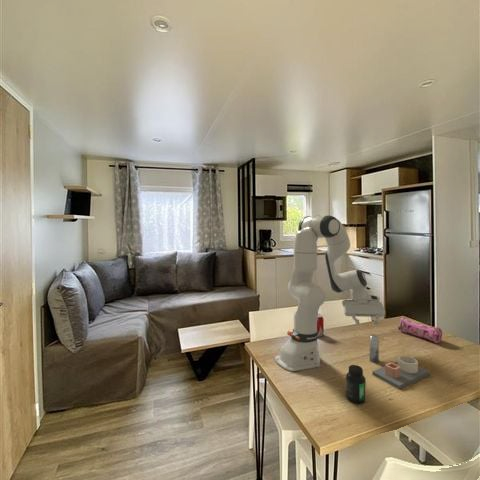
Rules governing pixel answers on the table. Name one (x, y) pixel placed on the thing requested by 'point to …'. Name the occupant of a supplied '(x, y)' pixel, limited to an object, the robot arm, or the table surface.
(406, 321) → the pencil case
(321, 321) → the soda can
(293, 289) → the robot arm
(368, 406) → the table surface
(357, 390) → the supplement bottle
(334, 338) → the table surface
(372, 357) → the metal peg
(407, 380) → the holder board
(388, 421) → the table surface
